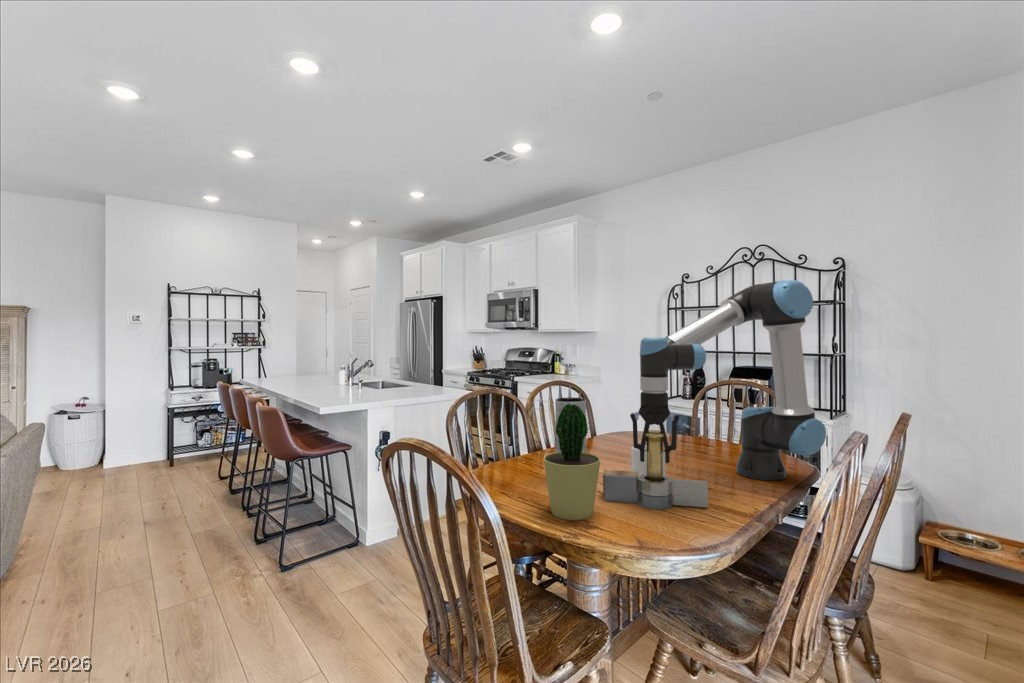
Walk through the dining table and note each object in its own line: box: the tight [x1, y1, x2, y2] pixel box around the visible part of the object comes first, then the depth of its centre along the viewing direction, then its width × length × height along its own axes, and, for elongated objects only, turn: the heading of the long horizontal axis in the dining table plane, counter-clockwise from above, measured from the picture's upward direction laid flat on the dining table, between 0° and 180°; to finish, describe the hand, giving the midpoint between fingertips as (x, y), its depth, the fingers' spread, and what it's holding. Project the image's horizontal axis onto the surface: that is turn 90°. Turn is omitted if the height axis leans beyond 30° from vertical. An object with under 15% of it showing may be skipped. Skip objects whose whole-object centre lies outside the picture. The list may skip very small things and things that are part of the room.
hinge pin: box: [644, 429, 665, 482], centre depth 136 cm, size 6×6×17 cm
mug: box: [631, 445, 647, 476], centre depth 160 cm, size 12×8×10 cm
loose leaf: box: [638, 474, 709, 509], centre depth 135 cm, size 19×9×7 cm, turn 75°
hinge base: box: [604, 475, 673, 511], centre depth 137 cm, size 19×9×7 cm, turn 75°
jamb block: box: [602, 469, 638, 500], centre depth 141 cm, size 10×5×7 cm, turn 75°
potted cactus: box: [543, 403, 601, 521], centre depth 130 cm, size 15×15×30 cm
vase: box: [554, 397, 587, 453], centre depth 158 cm, size 10×10×27 cm
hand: (654, 473), depth 136 cm, fingers closed on hinge pin, 4 cm apart
